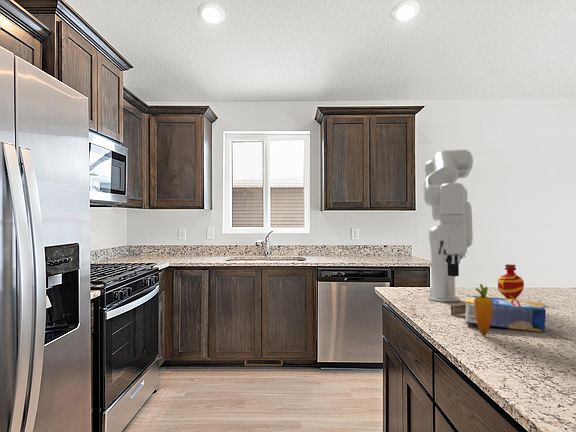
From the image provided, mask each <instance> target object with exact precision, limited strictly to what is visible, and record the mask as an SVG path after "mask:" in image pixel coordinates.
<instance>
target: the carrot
mask: <svg viewBox="0 0 576 432" xmlns="http://www.w3.org/2000/svg"><path fill="white" fill-rule="evenodd" d="M479 287H480V288H478V287H477V288H475V291H477V292H478V293H479V294H480V295H479V296H480V297H476V298H475V300H474V307H475V317H476V321H477V324H476V325H477V328H478V330H479V332H480V334H481V336H483V337H485V336H486V335H487V334H488V332H489V330H490V328H491V326H490V325H491V320H492V310H493V302H492V300H491V299H490V298H489V297H490V296H487V294H488V287H487V286H484V285H483V283H480V284H479ZM480 289H481V290H480Z"/></svg>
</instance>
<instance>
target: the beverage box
mask: <svg viewBox="0 0 576 432" xmlns="http://www.w3.org/2000/svg"><path fill="white" fill-rule="evenodd" d="M480 296H481V295H470V294H469V295H468V294H466V297H465V303H466V319H465V324H468V325H469V324H471V325H477V321H476V317H475V307H474V300H475V298H476V297H480ZM488 297H489V298H490V299H491V300H492V302H493V310H492V320H491V325H490V327H494V328H502V329H511V330H520V331H526V332H527V331H528V332H536V333H543V334H544V333H545V331H546V316H547V315H546V314H547V313H546V311H547V310H546V308H545V307H544V306H543V304H542V302H540V301H530V300H521V299H520V300H519V299H517V300H511V299H506V298H499V297H490V296H488Z"/></svg>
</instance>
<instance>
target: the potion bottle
mask: <svg viewBox="0 0 576 432" xmlns="http://www.w3.org/2000/svg"><path fill="white" fill-rule="evenodd" d="M504 266H505V268H504V270H505V271H506V273H505V274H503V275H501V276H500V277H499V278H498V279H497V291H498V292H500V294H501V295H503V296H504V297H505V299H511V300H518V299H517V298H518V297H519V296H520V295H521V293H522V292H523V290H524V288H525V282H524V280H523V278H522V277H521V276H519V275H518V274H517V273H516V272H515V271H516V270H517V268H516V264H509V263H508V264H504Z"/></svg>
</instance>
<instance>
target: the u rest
mask: <svg viewBox="0 0 576 432" xmlns="http://www.w3.org/2000/svg"><path fill="white" fill-rule="evenodd" d="M450 316H451V317H457V318H461V319H465V320H466V302H465V303H459V304H458V303H457V304H452V305H450Z"/></svg>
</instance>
